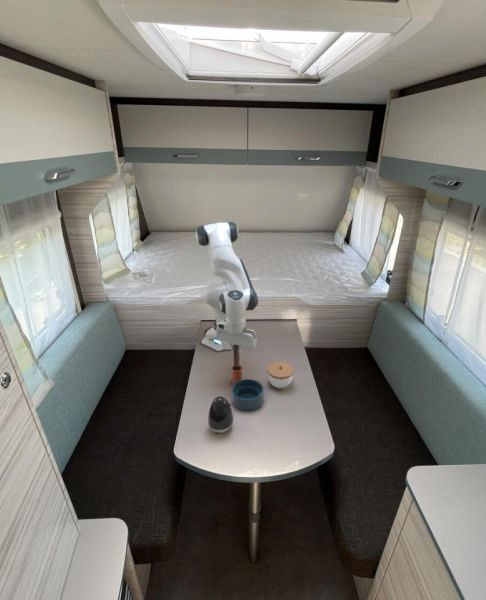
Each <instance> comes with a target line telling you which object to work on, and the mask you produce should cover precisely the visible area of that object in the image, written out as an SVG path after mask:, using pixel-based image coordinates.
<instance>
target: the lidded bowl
mask: <svg viewBox="0 0 486 600" xmlns="http://www.w3.org/2000/svg"><path fill="white" fill-rule="evenodd" d="M266 372H267V379H268V382H269V383H270V385H272V387H274V388H276V389H278V390H283V389H286V388H287V387H289V385H290V384H291V383H292V381H293V377H294V367H293V366H292V364H290V363H289V362H285V361H274V362H271V363H270V364H269V365H268V366H267V371H266Z"/></svg>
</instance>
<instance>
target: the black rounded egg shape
mask: <svg viewBox="0 0 486 600" xmlns="http://www.w3.org/2000/svg"><path fill="white" fill-rule="evenodd" d="M231 406H232V404H231V403H229V401H228V400H227V399H226V398H225V397H224V396H221V395H220V396H216V397H215V398H214V399H213V400H212V402H211V404H210V406H209V409H208V415H207V423H208V426H209V428H210V429H211V430H212V431H213V432H215V433H219V434H221V433H226V432H227V431H228V430H230V428H231V427H232V424H233V423H234V415H233V411H232V408H231Z"/></svg>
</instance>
